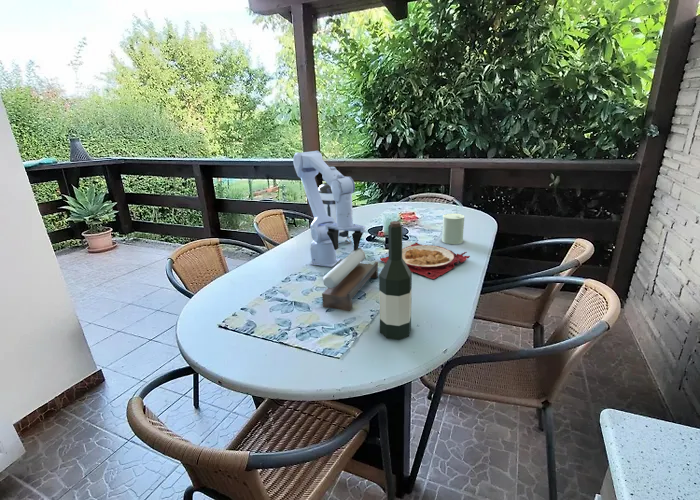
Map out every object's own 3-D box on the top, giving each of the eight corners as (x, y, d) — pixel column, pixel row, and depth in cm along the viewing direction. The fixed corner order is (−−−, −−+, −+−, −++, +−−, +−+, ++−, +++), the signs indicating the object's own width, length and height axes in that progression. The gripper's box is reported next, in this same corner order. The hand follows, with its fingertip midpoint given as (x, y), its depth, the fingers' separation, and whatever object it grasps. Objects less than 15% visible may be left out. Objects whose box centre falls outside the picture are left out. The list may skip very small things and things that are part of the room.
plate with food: (416, 246, 159) (416, 239, 158) (470, 259, 141) (470, 250, 140) (378, 262, 144) (378, 254, 143) (433, 279, 126) (433, 270, 125)
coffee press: (312, 247, 163) (307, 179, 153) (327, 236, 177) (323, 174, 167) (348, 250, 157) (345, 180, 147) (361, 239, 171) (358, 174, 161)
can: (452, 245, 157) (453, 218, 153) (437, 240, 165) (438, 214, 160) (467, 241, 161) (469, 215, 157) (452, 236, 169) (453, 211, 165)
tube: (330, 272, 107) (361, 245, 129) (316, 278, 110) (349, 250, 131) (339, 288, 108) (368, 258, 129) (325, 293, 110) (356, 263, 132)
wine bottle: (377, 324, 101) (375, 219, 90) (407, 321, 101) (408, 216, 91) (382, 341, 93) (380, 228, 83) (414, 338, 94) (417, 226, 83)
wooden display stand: (323, 306, 112) (321, 290, 110) (354, 273, 134) (354, 259, 132) (350, 311, 108) (349, 294, 106) (378, 276, 131) (377, 261, 129)
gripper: (320, 214, 125) (323, 251, 130) (359, 217, 120) (361, 255, 125) (329, 209, 131) (331, 245, 136) (367, 211, 126) (368, 248, 131)
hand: (346, 249), depth 131 cm, fingers open, 7 cm apart
